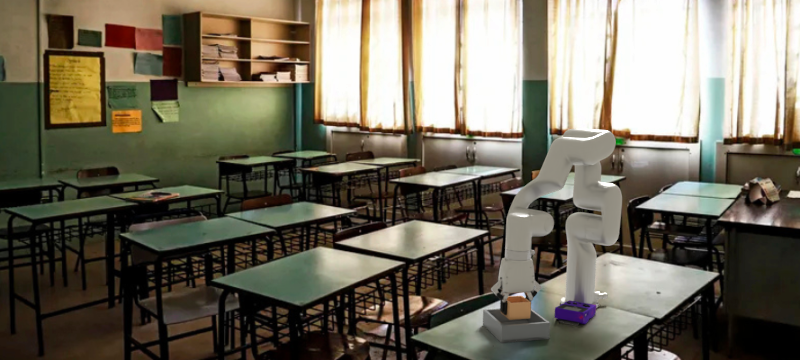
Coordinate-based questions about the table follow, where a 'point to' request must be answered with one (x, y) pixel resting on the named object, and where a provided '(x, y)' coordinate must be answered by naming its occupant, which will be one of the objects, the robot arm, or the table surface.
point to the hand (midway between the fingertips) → (515, 312)
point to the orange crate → (518, 308)
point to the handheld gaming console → (574, 312)
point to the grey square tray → (516, 326)
